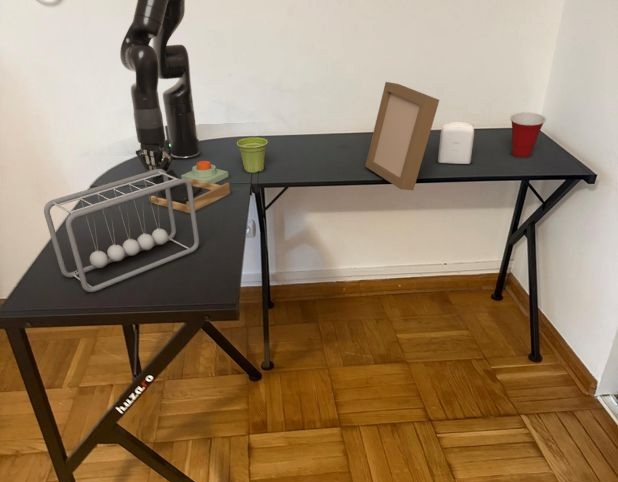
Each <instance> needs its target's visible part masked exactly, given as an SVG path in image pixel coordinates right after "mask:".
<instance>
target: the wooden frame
mask: <svg viewBox="0 0 618 482" xmlns="http://www.w3.org/2000/svg"><path fill="white" fill-rule="evenodd" d="M190 183H191V185H192V186H193V187H201V189H204V190H208V191H206V192H205V193H202V194H200V195H198V196H195V197H193V198H194V206H195V212H196V211H198V210H200V209H202V208H204V207H206V206H207V205H210V204H212V203H214V202H216V201H218V200H220V199H222V198H224V197H226V196H228V195H230V194H231V188H230V183H229V182H225V183H223V184H217V183H214V184H213V183H209V182H205V181H200V180H196V179H190ZM150 201H151V203H150V204H154V205H157V206H162V207H165V208H168V205H167V199H166V198H164V197H163V198H162V197H159V196H158V203H157V196H156V195H151V196H150ZM172 206H173V210H176V211H179V212H182V213H183V212H184V213H187V214H191V213H190V206H189V201H188V202H186V204H182V203H178V202H174V201H172Z"/></svg>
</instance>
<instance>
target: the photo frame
mask: <svg viewBox="0 0 618 482" xmlns="http://www.w3.org/2000/svg"><path fill="white" fill-rule="evenodd" d="M439 103H440V99H439V98H435V97H433V96H431V95H428V94H425V93H423V92H420V91H418V90H415V89H413V88H410V87H407V86H405V85H403V84H400V83H395V82H391V81H390V82H389V81H385V82H384V88H383V91H382V94H381V100H380V104H379V108H378V112H377V114H376V115H377V116H376V120H375V125H374V128H373V132H372V137H371V141H370V145H369V147H368V153H367V157H366V161H365V166H364V167H366V168H367V169H369V170H370V171H372V172H373V173H375V174H376V175H378V176H379V177H381V178H382V179H384V180H385V181H387V182H388V183H390V184H391V185H394V186H395V187H396V188H397V189H400V190H403V191H404V190H405V191H414V190H415V187H416V183H417V179H418V177H419V174H420V173H419V172H420V169H421V166H422V162H423V160H424V159H423V158H424V155H425V152H426V148H427V145H428V141H429V137H430V134H431V131H432V128H433V124H434V120H435V117H436V113H437V110H438V107H439Z"/></svg>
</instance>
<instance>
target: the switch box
mask: <svg viewBox="0 0 618 482" xmlns="http://www.w3.org/2000/svg"><path fill="white" fill-rule="evenodd" d="M210 165H211V169H208V170H198V169H197V164H196V165H194V166H192V168H191V171H188V172H186V173H183V174H181V175H180V176H181V179H183V178H184V179H187V180H189V181H190V179H196V180H200V181H205V182H209V183H213V184H217V183H218V182H220V181H222V180H225V179H227V178H229V171H228V170H223V169H219V168H217V166H216V165H215V164H211V163H210Z"/></svg>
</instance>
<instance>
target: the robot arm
mask: <svg viewBox="0 0 618 482" xmlns="http://www.w3.org/2000/svg"><path fill="white" fill-rule="evenodd" d="M134 9H135V10H134V14H133V17H132V22H131V24H130V25H129V27H128V29H127V31H126V33H125V35H124V38H123V40H122V43H121V45H120V50H119V55H120V56H119V57H120V58H119V59H120V61H121V64H122V66H123V67H124V68H125V69H126V70H128V71H130V72H134V73H135V82H134V83H132V84H131V86H130V96H131V101H132V102H131V103H132V109H133V110H132V111H133V120H134V127H135V132H136V138H137V142H138V143H139V146H140V147H139V149H137V150H135V155H136V157H137V158H138V159H139V161H140V163H141V164H142V166H143V167H144V169H145V170H146V171H152V170H156V169H162V170H164V171H165V172H168V171H169V167H170V166H171V164H172V162H173V160H174V159H177V160H187V159H188V160H189V159H194V158H196V157H198V156H200V147H199V144H200V141H199V138H198V133H197V124H196V123H197V122H196V116H195V115H196V114H195V107H194V101H193V91H192V82H191V68H190V66H191V65H190V57H189V52H188V50H187V47H186V46H185V45H183V44H170V45H168V42H169V40H170V38H171V37H172V35H173V34H174V33H175V32H176V30H177V29H178V28H179V26H180V24H181V23H182V21H183V19H184V16H185V13H186V0H137V1H136V5H135V8H134ZM151 41H152V46H151V45H150V43H151ZM159 79H160V80H172V79H178V80H177V82H176V83H175V84H174V85H173V86H171V87H170V88H168V89H166V90H164V91H163V92H162V102H163V108H164V114H165V122H166V125H165V124H164V119H163V113H162V110H161V105H160V104H161V103H160V100H159V99H160V98H159V92H158V91H159V90H158V88H159V87H158V86H159ZM164 125H165V126H164ZM167 150H168V153H167ZM161 176H162V175H159V176H155V177H152V178H151V179H152V183H153V182H154V181H156V180H157V179H159V178H160V177H161Z"/></svg>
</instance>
